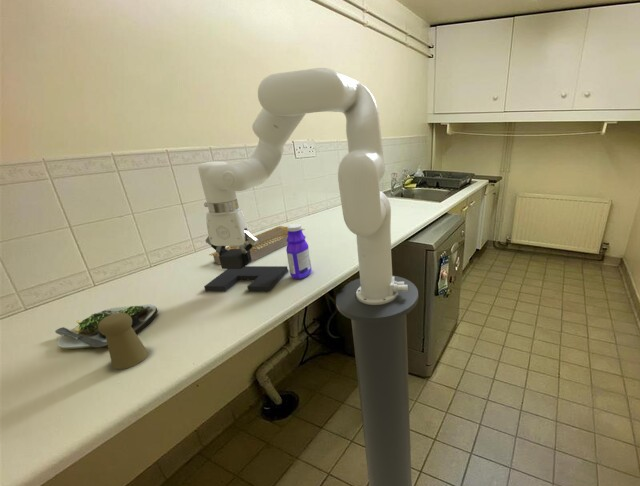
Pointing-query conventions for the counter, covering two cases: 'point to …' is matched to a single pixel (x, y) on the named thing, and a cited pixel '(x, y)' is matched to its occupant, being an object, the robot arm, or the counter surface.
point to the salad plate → (88, 328)
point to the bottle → (298, 252)
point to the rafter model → (262, 238)
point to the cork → (122, 341)
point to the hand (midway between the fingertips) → (236, 263)
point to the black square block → (232, 259)
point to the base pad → (249, 278)
